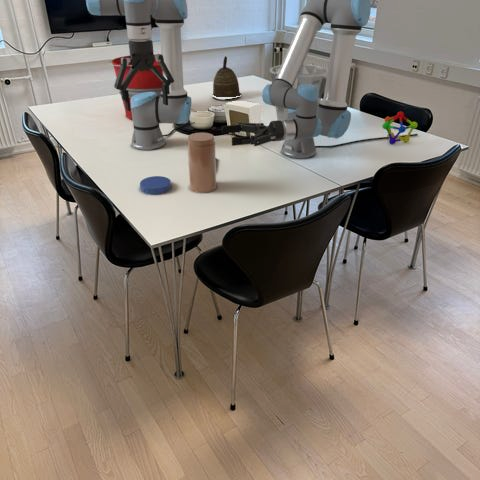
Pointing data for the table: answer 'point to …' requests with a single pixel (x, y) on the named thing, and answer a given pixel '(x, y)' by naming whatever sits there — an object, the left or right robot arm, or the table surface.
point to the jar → (202, 162)
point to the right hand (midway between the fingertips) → (226, 135)
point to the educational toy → (398, 128)
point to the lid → (155, 185)
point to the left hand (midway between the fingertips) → (147, 107)
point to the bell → (225, 82)
